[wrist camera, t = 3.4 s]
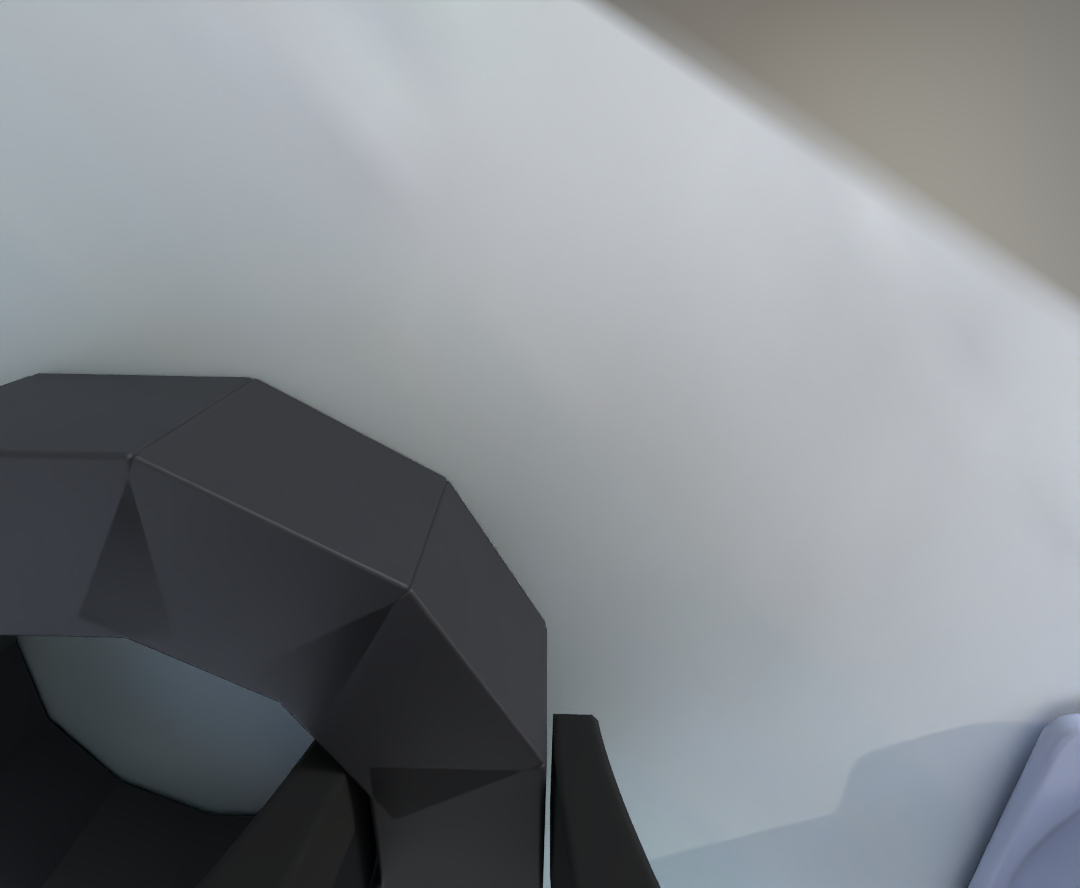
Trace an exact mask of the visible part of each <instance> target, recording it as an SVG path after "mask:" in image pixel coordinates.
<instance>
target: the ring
mask: <svg viewBox="0 0 1080 888" xmlns="http://www.w3.org/2000/svg"><path fill="white" fill-rule="evenodd" d="M17 635H21V636H69V637H116V638H128V639H130V640H132V641H135V642H137V643H140V644H142V645H144V646H147V647H149V648H152V649H154V650H156V651H159V652H161V653H163V654H166V655H168V656H171V657H173V658H175V659H178V660H180V661H183V662H185V663H187V664H190V665H192V666H195V667H197V668H199V669H202V670H204V671H206V672H209V673H211V674H214V675H216V676H218V677H221V678H223V679H226V680H228V681H230V682H233V683H235V684H237V685H240V686H242V687H245V688H247V689H249V690H252V691H254V692H257V693H259V694H261V695H264V696H266V697H269V698H271V699H273V700H276V701H278V702H280V703H281V704H282V705H283V706H284V707H285V708H286V709H287V710H288V711H289V712H290V713H291V715H292V716H293V717H294V718H295V719H296V720H297V721H298V722H299V723H300V724H301V725H302V726H303V727H304V728H305V729H306V730H307V731H308V732H309V733H310V734H311V735H312V736H313V738H314V739H315V740H316V741H317V742H318V743H319V744H320V745H321V746H322V747H323V748H324V749H325V750H326V751H327V752H328V753H329V754H330V755H331V756H332V757H333V758H334V759H335V761H336V762H337V763H338V764H339V765H340V766H341V767H342V768H343V769H344V770H345V771H346V772H347V773H348V774H349V775H350V776H351V777H352V778H353V779H354V780H355V781H356V782H357V784H358V785H359V786H360V787H361V788H362V789H363V790H364V791H365V792H366V793H367V794H368V795H369V799H370V806H371V813H372V820H373V827H374V835H375V842H376V849H377V855H376V860H375V865H374V870H373V874H372V878H371V881H370V884H369V888H543V867H544V834H545V800H546V767H547V629H546V627H545V621H544V620H543V618H542V617H541V615H540V614H539V612H538V611H537V609H536V608H535V606H534V605H533V604H532V602H531V601H530V599H529V598H528V596H527V595H526V593H525V592H524V590H523V589H522V587H521V586H520V585H519V583H518V582H517V580H516V579H515V577H514V576H513V574H512V573H511V571H510V570H509V568H508V567H507V565H506V564H505V563H504V561H503V560H502V558H501V557H500V555H499V554H498V552H497V551H496V549H495V548H494V546H493V545H492V543H491V542H490V541H489V539H488V538H487V536H486V535H485V533H484V532H483V530H482V529H481V527H480V526H479V524H478V523H477V522H476V520H475V519H474V517H473V516H472V514H471V513H470V511H469V510H468V508H467V507H466V505H465V504H464V502H463V501H462V500H461V498H460V497H459V495H458V494H457V492H456V491H455V489H454V488H453V486H452V485H451V483H450V482H449V481H447V480H446V478H445V477H443V476H441V475H439V474H437V473H435V472H433V471H431V470H429V469H427V468H426V467H424V466H422V465H420V464H418V463H416V462H414V461H412V460H410V459H408V458H407V457H405V456H403V455H401V454H399V453H397V452H395V451H393V450H391V449H389V448H388V447H386V446H384V445H382V444H380V443H378V442H376V441H374V440H372V439H370V438H368V437H367V436H365V435H363V434H361V433H359V432H357V431H355V430H353V429H351V428H349V427H348V426H346V425H344V424H342V423H340V422H338V421H336V420H334V419H332V418H330V417H329V416H327V415H325V414H323V413H321V412H319V411H317V410H315V409H313V408H311V407H310V406H308V405H306V404H304V403H302V402H300V401H298V400H296V399H294V398H292V397H290V396H289V395H287V394H285V393H283V392H281V391H279V390H277V389H275V388H273V387H271V386H270V385H268V384H266V383H264V382H262V381H260V380H258V379H253V380H252V379H251V378H244V377H193V376H142V375H91V374H40V373H39V374H36V375H33V376H28V377H25V378H23V379H20V380H17V381H14V382H11V383H8V384H6V385H3V386H0V888H196V886H197V885H198V884H199V883H200V882H201V881H202V880H203V878H204V877H205V876H206V875H207V874H208V873H209V872H210V870H211V869H212V868H213V867H214V866H215V865H216V863H217V862H218V861H219V860H220V859H221V858H222V857H223V855H224V854H225V853H226V852H227V851H228V849H229V848H230V847H231V846H232V845H233V843H234V842H235V841H236V840H237V839H238V837H239V836H240V835H241V834H242V832H243V831H244V830H245V829H246V827H247V826H248V825H249V824H250V822H251V821H252V820H253V819H254V817H255V816H242V815H210V814H207V813H205V812H202V811H199V810H196V809H194V808H191V807H188V806H186V805H183V804H180V803H178V802H175V801H172V800H170V799H167V798H164V797H161V796H159V795H156V794H153V793H151V792H148V791H145V790H143V789H140V788H137V787H135V786H132V785H129V784H126V783H124V782H121V781H120V780H119V779H118V778H116V777H115V776H114V775H113V774H112V773H111V772H109V771H108V770H107V769H106V768H105V767H104V766H102V765H101V764H100V763H99V762H98V761H97V760H95V759H94V758H93V757H92V756H91V755H90V754H88V753H87V752H86V751H85V750H84V749H82V748H81V747H80V746H79V745H78V744H77V743H75V742H74V741H73V740H72V739H71V738H70V737H68V736H67V735H66V734H65V733H64V732H63V731H61V730H60V729H59V728H58V727H57V726H56V725H54V724H53V723H52V722H51V721H50V720H49V719H48V718H47V716H46V714H45V711H44V709H43V706H42V704H41V702H40V699H39V697H38V694H37V692H36V689H35V687H34V685H33V682H32V680H31V677H30V675H29V673H28V670H27V668H26V665H25V663H24V660H23V658H22V656H21V653H20V651H19V648H18V646H17V644H16V641H15V639H16V636H17Z"/></svg>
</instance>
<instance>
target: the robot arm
mask: <svg viewBox="0 0 1080 888" xmlns="http://www.w3.org/2000/svg"><path fill="white" fill-rule="evenodd" d="M376 855H377V849H376V842H375V835H374V827H373V820H372V813H371V806H370V799H369V795H368V794H367V793H366V792H365V791H364V790H363V789H362V788H361V787H360V786H359V785H358V784H357V782H356V781H355V780H354V779H353V778H352V777H351V776H350V775H349V774H348V773H347V772H346V771H345V770H344V769H343V768H342V767H341V766H340V765H339V764H338V763H337V762H336V761H335V759H334V758H333V757H332V756H331V755H330V754H329V753H328V752H327V751H326V750H325V749H324V748H323V747H322V746H321V745H320V744H319V743H318V742H317V741H316V740H314V741H313V742H312V744H311V745H310V746H309V748H308V749H307V751H306V752H305V753H304V755H303V756H302V757H301V759H300V760H299V761H298V763H297V764H296V765H295V767H294V768H293V769H292V770H291V772H290V773H289V774H288V776H287V777H286V778H285V780H284V781H283V782H282V783H281V785H280V786H279V787H278V789H277V790H276V791H275V793H274V794H273V795H272V796H271V798H270V799H269V800H268V801H267V803H266V804H265V805H264V806H263V808H262V809H261V810H260V811H259V812H258V814H257V815H256V816H255V817H254V819H253V820H252V821H251V822H250V824H249V825H248V826H247V827H246V829H245V830H244V831H243V832H242V834H241V835H240V836H239V837H238V839H237V840H236V841H235V842H234V843H233V845H232V846H231V847H230V848H229V849H228V851H227V852H226V853H225V854H224V855H223V857H222V858H221V859H220V860H219V861H218V862H217V863H216V865H215V866H214V867H213V868H212V869H211V870H210V872H209V873H208V874H207V875H206V876H205V877H204V878H203V880H202V881H201V882H200V883H199V884H198V885H197V886H196V888H369V884H370V881H371V878H372V874H373V870H374V865H375V860H376ZM550 881H551V888H660V886H659V883H658V881H657V879H656V877H655V875H654V873H653V870H652V868H651V866H650V864H649V861H648V859H647V857H646V854H645V852H644V850H643V847H642V845H641V843H640V840H639V838H638V836H637V833H636V831H635V829H634V826H633V824H632V822H631V819H630V817H629V814H628V812H627V809H626V807H625V804H624V802H623V799H622V796H621V794H620V791H619V788H618V785H617V783H616V780H615V777H614V774H613V771H612V768H611V766H610V763H609V760H608V756H607V753H606V750H605V746H604V743H603V739H602V736H601V732H600V727H599V723H598V720H597V719H596V718H595V717H594V716H592V715H578V714H553V735H552V764H551V793H550ZM968 888H1080V713H1073V714H1065V715H1063V716H1060V717H1057V718H1055V719H1054V720H1052V721H1051V722H1049V723H1048V724H1047V725H1046V726H1045V727H1044V729H1043V730H1042V732H1041V734H1040V736H1039V738H1038V740H1037V742H1036V744H1035V747H1034V749H1033V751H1032V753H1031V755H1030V757H1029V759H1028V761H1027V763H1026V766H1025V768H1024V770H1023V772H1022V774H1021V776H1020V778H1019V780H1018V782H1017V785H1016V787H1015V789H1014V791H1013V793H1012V795H1011V797H1010V799H1009V801H1008V804H1007V806H1006V808H1005V810H1004V812H1003V814H1002V816H1001V818H1000V820H999V823H998V825H997V827H996V829H995V831H994V833H993V835H992V837H991V840H990V842H989V844H988V846H987V848H986V850H985V852H984V854H983V856H982V859H981V861H980V863H979V865H978V867H977V869H976V871H975V873H974V875H973V878H972V880H971V882H970V884H969V886H968Z"/></svg>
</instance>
